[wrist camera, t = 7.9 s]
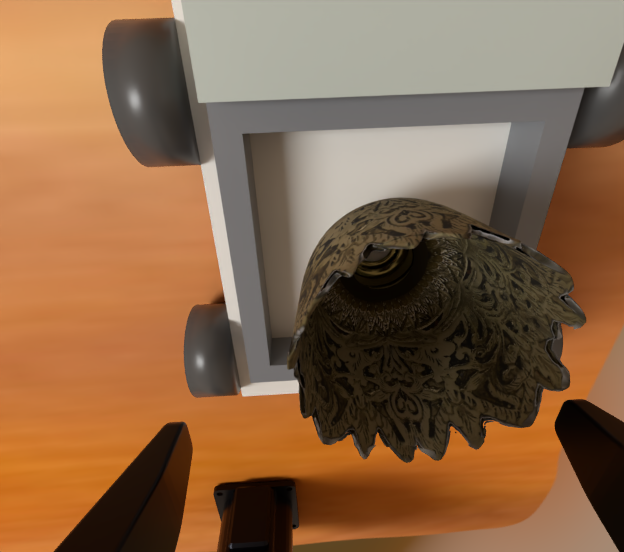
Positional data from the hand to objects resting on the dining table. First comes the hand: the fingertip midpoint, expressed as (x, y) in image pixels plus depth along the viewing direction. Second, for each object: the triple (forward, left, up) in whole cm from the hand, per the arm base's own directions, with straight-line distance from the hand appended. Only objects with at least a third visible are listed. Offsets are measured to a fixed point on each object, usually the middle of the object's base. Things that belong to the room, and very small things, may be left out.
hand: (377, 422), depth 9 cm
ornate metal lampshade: (+1, -2, -9) cm, 9 cm away
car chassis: (+1, -2, -12) cm, 12 cm away
